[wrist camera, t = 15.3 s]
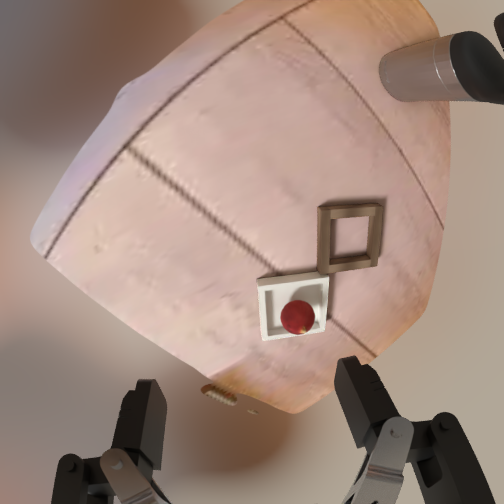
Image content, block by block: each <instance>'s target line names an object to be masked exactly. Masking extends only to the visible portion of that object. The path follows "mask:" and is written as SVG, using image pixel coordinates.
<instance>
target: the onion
mask: <svg viewBox="0 0 504 504" xmlns="http://www.w3.org/2000/svg"><path fill="white" fill-rule="evenodd" d="M280 320H281V323H282V325H283V327H284V329H286V330H287V331H288V332H289V333H291V334H295V335H301V334H305V333H307V332H308V331H309V330H310V329H311V328H312V326H313V324H314V321H315V313H314V310H313V308H312V306H311V305H310V304H309V303H307V302H305V301H302V300H294V301H291V302H289V303H287V304H286V305H285V306H284V308H283V309H282V311H281V316H280Z"/></svg>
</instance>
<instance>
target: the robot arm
mask: <svg viewBox="0 0 504 504" xmlns="http://www.w3.org/2000/svg"><path fill="white" fill-rule="evenodd" d="M494 27H495V31H496V33H497V36H498V39H499V41H500V44H501V46H502V48H504V13H502V14H500V15H498V16H497V17H496V18H495V20H494ZM503 51H504V49H503ZM379 74H380V78H381V81H382V84H383V85H384V87H385V89H386V90H387V91H388V93H389V94H390V95H392V96H393V97H394V98H396V99H397V100H400V101H403V102H416V101H475V102H489V103H495V104H502V105H504V59H503V58H502V57H501V55H500V54H499V52H498V51H497V50H496V48H495V47H494V46H493V45H492V43H491V42H490V41H489V40H488V39H487V38H485V37H484V36H483V35H481V34H479V33H477V32H473V31H465V32H461V33H456V34H452V35H448V36H444V37H440V38H436V39H433V40H429V41H426V42H422V43H419V44H415V45H412V46H409V47H406V48H403V49H400V50H397V51H394V52H391V53H388V54H386V55H385V56H384V57H383V58H382V60H381V62H380V66H379ZM334 386H335V391H336V394H337V396H338V399H339V401H340V404H341V406H342V409H343V412H344V414H345V417H346V419H347V422H348V425H349V427H350V430H351V433H352V435H353V438H354V441H355V443H356V446H357V448H361V447H364V446H365V448H366V451H367V453H366V455H365V458H364V460H363V463H362V465H361V467H360V469H359V472H358V474H357V476H356V478H355V480H354V482H353V485H352V486H351V488H350V490H349V492H348V494H347V495H346V497H345V498H344V500H343V502H342V504H395V503H396V500H397V498H398V495H399V492H400V490H401V487H402V484H403V480H404V476H403V475H402V472H403V469H404V466H405V463H409V462H411V464H412V467H413V469H414V472H415V475H416V478H417V480H418V483H419V486H420V489H421V492H422V495H423V498H424V501H425V504H495V501H494V498H493V496H492V493H491V490H490V488H489V485H488V483H487V480H486V478H485V476H484V473H483V471H482V469H481V466H480V464H479V462H478V460H477V458H476V455H475V454H474V451H473V449H472V447H471V445H470V443H469V441H468V439H467V437H466V435H465V433H464V431H463V429H462V427H461V425H460V423H459V421H458V419H457V418H456V417H455V416H454V415H453V414H451V413H448V412H442V413H439V414H437V415H436V416H435V417H434V418H433V419H432V420H429V421H419V422H411V421H409V420H408V419H406V418H404V417H401V415H400V414H399V413H398V411H397V409H396V407H395V405H394V403H393V402H392V400H391V398H390V396H389V394H388V392H387V390H386V389H385V388H384V385H383V383H382V381H381V380H380V377H379V376H378V374H377V372H376V371H375V370H374V369H373V368H372V367H371V366H369V365H368V364H365V365H361V364H360V362H359V360H358V358H357V357H356V356H350V357H346V358H341V359H339V360H338V363H337V368H336V374H335V379H334ZM166 414H167V403H166V399H165V397H164V395H163V393H162V391H161V389H160V387H159V385H158V383H157V382H156V380H155V379H139V380H138V381H137V384H136V389H135V390H129V391H128V393H127V394H126V395H125V397H124V398H123V401H122V404H121V410H120V412H119V418H118V421H117V424H116V429H115V433H114V438H113V442H112V446H111V448H110V449H109V450H107V451H105V452H104V453H103V454H102V456H101V457H96V458H88V459H81V458H80V457H79V456H77V455H75V454H66V455H64V456H63V457H62V458H61V459H60V460H59V463H58V467H57V472H56V477H55V482H54V488H53V495H52V501H51V504H113V500H114V496H116V495H117V497H118V499H119V500H120V502H121V504H173V503H172V502H171V501H170V499H169V498H168V497H167V496H166V494H165V493H164V492H163V491H162V489H161V488H160V487H159V485H158V484H157V483H156V481H155V480H154V479H153V478H152V474H153V470H161V461H162V451H163V441H164V431H165V422H166Z"/></svg>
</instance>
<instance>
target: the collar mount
mask: <svg viewBox="0 0 504 504" xmlns="http://www.w3.org/2000/svg"><path fill="white" fill-rule="evenodd" d="M317 213H318V225H317V270H318V272H319V273H320V274H327V273H334V272H341V271H348V270H355V269H362V268H368V267H375V266H377V264H378V256H379V247H380V238H381V227H382V215H383V206H382V205H380V204H378V203H370V204H353V205H339V206H325V207H317ZM363 216H369V227H368V240H367V251H366V255H361V256H353V257H346V258H338V259H330V260H329V256H330V224H331V219H338V218H350V217H363Z"/></svg>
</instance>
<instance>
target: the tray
mask: <svg viewBox="0 0 504 504" xmlns="http://www.w3.org/2000/svg"><path fill="white" fill-rule="evenodd" d="M328 288H329V276H328V274H320V273H319V272H318V271H316V272H309V273H301V274H294V275H286V276H278V277H269V278H261V279H257V291H258V303H259V315H260V327H261V336H262V341H266V340H273V339H280V338H287V337H294V336H300V335H295V334H291V333H289V332H288V331H287V330H286V329H284V327H283V325H282V323H281V320H280V316H281V311H282V309H283V308H284V306H285V305H286V304H287V303H289V302H291V301H294V300H302V301H305V302H307V303H309V304H310V305H311V306H312V308H313V310H314V313H315V321H314V324H313V326H312V328H311V329H310V330H309V331H308V332H307V333H305V334H301V335H306V334H312V333H318V332H323V331H325V325H326V314H327V302H328Z"/></svg>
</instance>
